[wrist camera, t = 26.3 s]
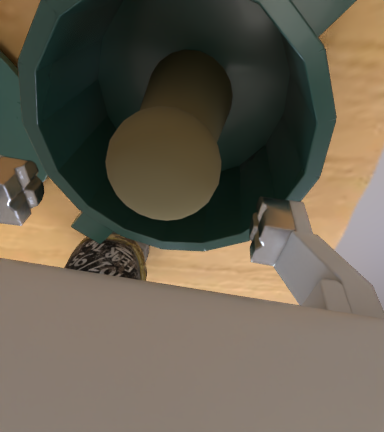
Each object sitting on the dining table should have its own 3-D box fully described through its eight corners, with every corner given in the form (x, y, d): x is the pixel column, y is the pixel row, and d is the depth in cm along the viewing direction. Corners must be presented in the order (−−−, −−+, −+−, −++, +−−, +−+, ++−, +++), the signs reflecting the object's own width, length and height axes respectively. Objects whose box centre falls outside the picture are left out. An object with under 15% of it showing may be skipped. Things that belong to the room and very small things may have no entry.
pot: (44, 121, 23) (-29, 179, 16) (219, -210, 12) (199, -421, 5) (180, 219, 28) (164, 291, 22) (386, 56, 17) (474, 106, 11)
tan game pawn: (214, 32, 17) (194, 89, 9) (243, 122, 20) (248, 224, 12) (131, 72, 19) (52, 148, 11) (170, 148, 22) (132, 249, 14)
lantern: (122, 202, 28) (-116, 683, 9) (173, 250, 31) (80, 657, 13) (70, 234, 32) (-168, 609, 13) (121, 273, 36) (-7, 606, 17)
